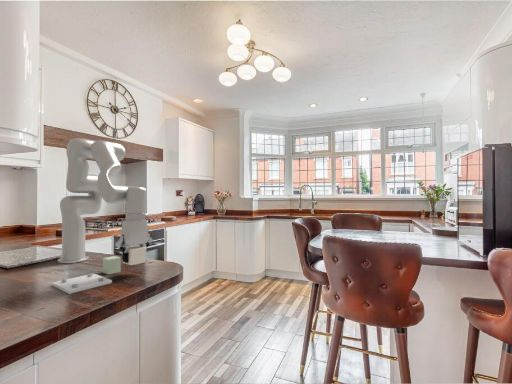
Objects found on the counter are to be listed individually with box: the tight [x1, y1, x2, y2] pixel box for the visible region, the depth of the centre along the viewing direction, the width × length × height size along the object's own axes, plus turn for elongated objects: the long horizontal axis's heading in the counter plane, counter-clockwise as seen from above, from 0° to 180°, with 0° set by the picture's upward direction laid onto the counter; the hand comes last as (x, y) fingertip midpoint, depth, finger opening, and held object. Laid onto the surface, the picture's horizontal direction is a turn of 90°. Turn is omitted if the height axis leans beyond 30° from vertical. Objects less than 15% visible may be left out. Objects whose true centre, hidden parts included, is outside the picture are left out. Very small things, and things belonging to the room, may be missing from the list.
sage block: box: [102, 255, 122, 275], centre depth 115 cm, size 5×5×6 cm
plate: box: [51, 273, 113, 295], centre depth 99 cm, size 14×14×2 cm
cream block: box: [121, 245, 147, 266], centre depth 112 cm, size 6×6×6 cm
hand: (133, 260), depth 112 cm, fingers closed on cream block, 6 cm apart
